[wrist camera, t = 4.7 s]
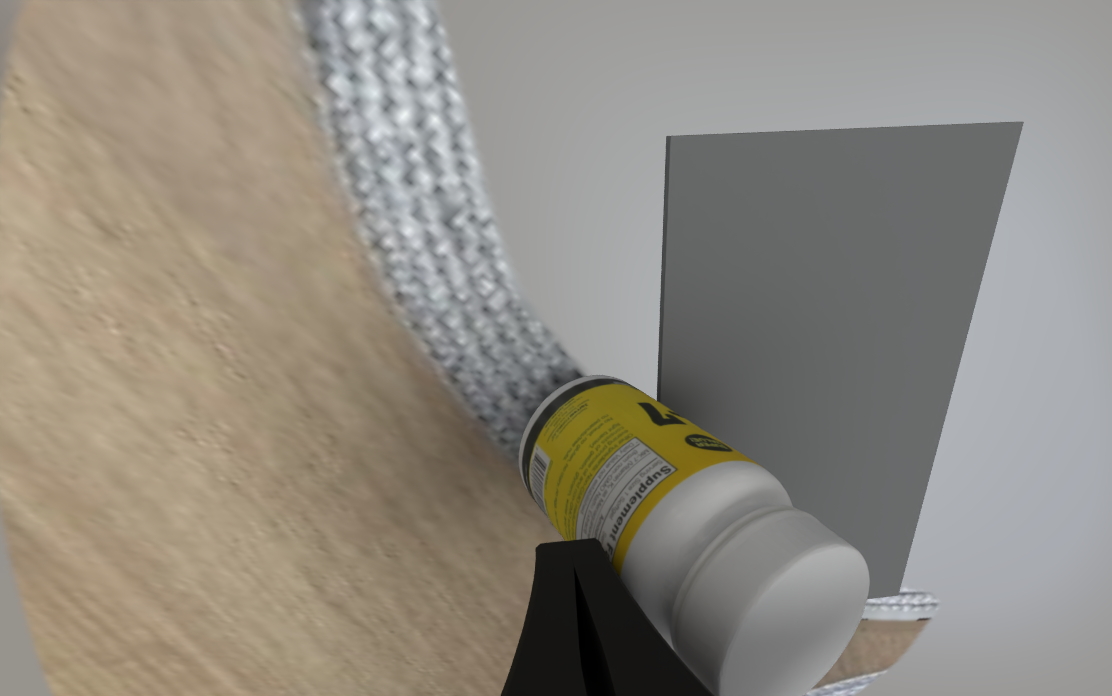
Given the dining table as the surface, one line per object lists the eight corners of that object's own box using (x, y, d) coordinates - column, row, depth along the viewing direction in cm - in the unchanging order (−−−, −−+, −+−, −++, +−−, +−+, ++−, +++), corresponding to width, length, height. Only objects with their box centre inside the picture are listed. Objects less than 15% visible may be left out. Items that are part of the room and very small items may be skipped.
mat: (891, 587, 22) (898, 595, 22) (648, 616, 21) (651, 624, 21) (1010, 121, 16) (1023, 121, 15) (666, 136, 15) (670, 136, 14)
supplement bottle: (666, 418, 18) (910, 579, 11) (582, 525, 18) (778, 759, 11) (582, 341, 16) (830, 487, 9) (482, 465, 16) (655, 719, 9)
